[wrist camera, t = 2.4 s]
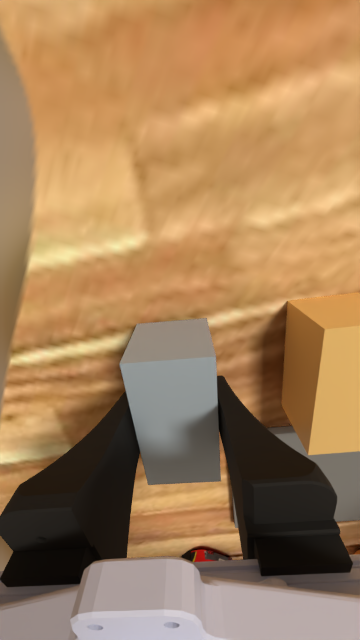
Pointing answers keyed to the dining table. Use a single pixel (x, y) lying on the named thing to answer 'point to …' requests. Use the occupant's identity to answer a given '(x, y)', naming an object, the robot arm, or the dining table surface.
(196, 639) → the robot arm
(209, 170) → the dining table surface
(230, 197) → the dining table surface
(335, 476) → the mat
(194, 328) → the slate brick
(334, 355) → the ochre brick
